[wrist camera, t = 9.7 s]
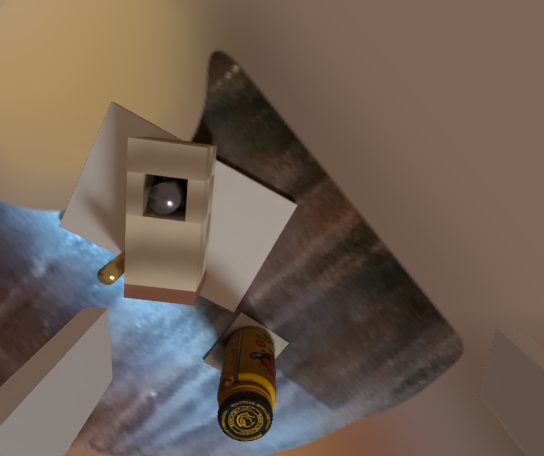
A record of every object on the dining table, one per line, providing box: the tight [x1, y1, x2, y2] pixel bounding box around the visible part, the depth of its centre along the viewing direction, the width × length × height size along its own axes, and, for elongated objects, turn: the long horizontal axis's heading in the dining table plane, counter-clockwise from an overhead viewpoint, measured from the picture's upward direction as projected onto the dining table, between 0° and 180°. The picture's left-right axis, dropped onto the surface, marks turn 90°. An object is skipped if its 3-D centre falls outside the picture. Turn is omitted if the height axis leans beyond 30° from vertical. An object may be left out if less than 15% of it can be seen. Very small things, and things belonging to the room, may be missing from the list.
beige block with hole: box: [124, 137, 217, 305], centre depth 36 cm, size 16×7×6 cm, turn 173°
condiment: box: [203, 312, 289, 441], centre depth 39 cm, size 7×8×12 cm
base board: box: [59, 102, 297, 312], centre depth 40 cm, size 22×15×1 cm
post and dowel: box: [97, 177, 188, 285], centre depth 37 cm, size 4×12×8 cm, turn 151°
